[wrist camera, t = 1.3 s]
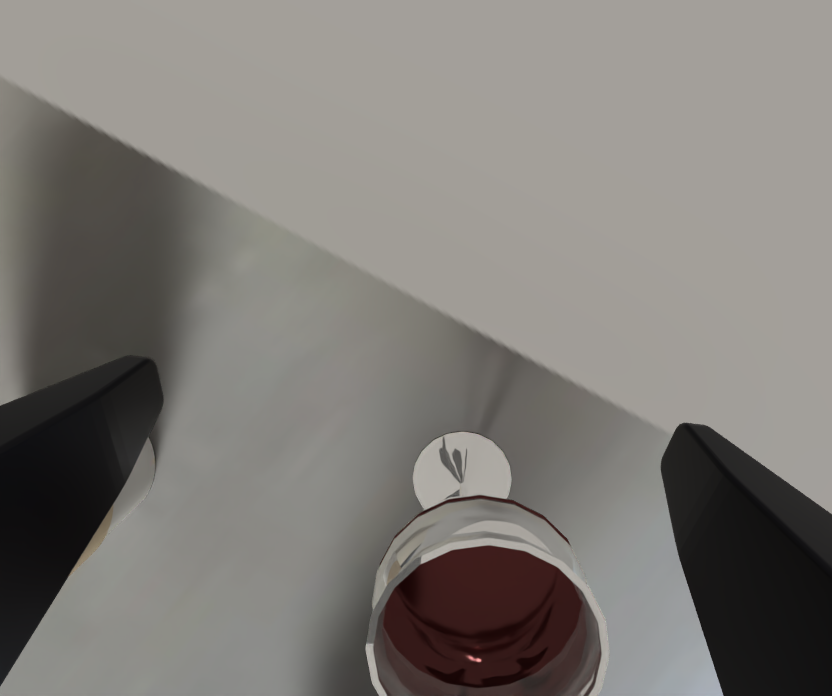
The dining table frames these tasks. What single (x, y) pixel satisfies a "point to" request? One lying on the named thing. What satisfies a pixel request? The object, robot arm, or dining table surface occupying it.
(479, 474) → the wineglass
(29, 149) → the dining table surface
